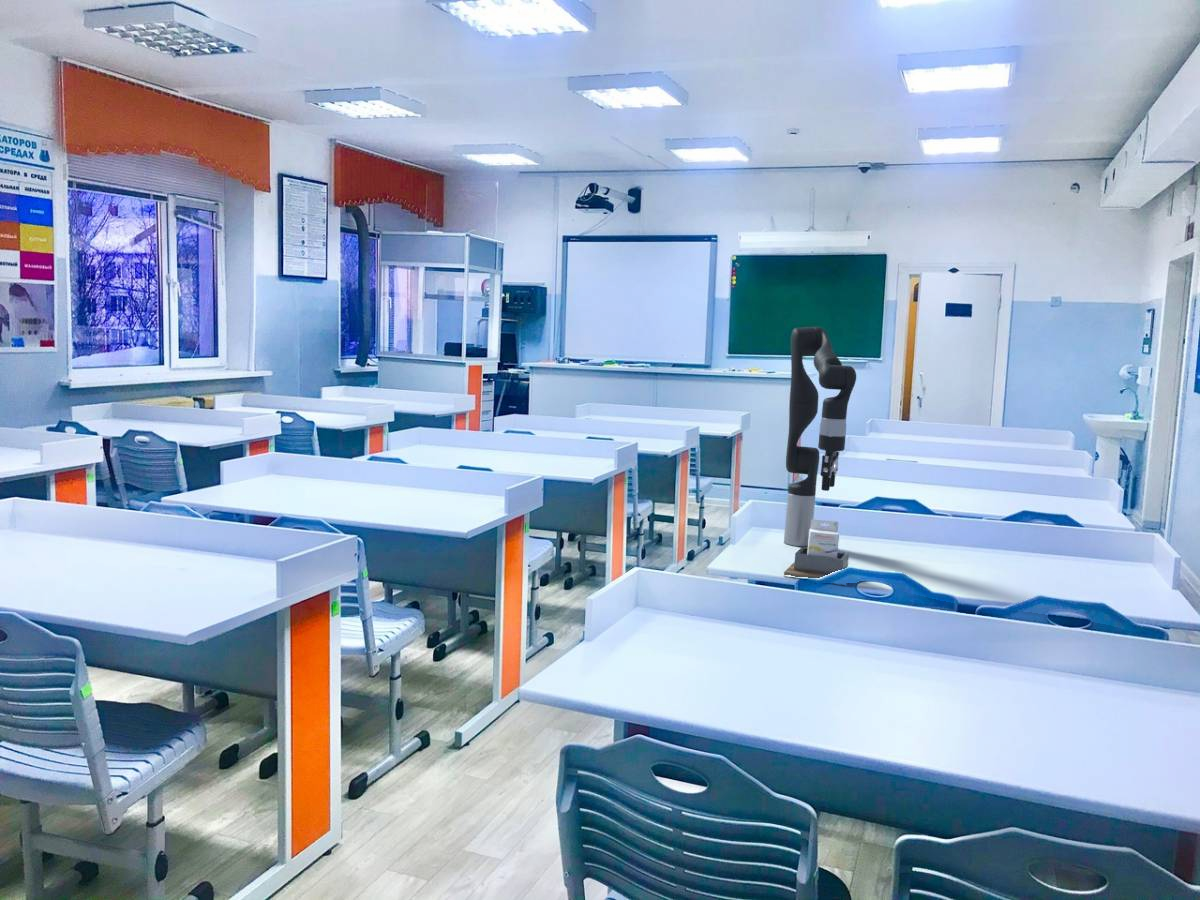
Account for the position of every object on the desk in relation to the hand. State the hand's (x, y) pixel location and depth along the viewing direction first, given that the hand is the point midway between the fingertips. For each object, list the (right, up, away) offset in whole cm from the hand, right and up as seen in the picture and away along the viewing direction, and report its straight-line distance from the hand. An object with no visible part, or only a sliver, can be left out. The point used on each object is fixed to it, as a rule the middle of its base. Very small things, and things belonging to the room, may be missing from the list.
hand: (827, 488), depth 286 cm
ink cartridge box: (-1, -25, +3) cm, 25 cm away
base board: (-1, -26, +3) cm, 26 cm away
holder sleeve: (-1, -24, +3) cm, 25 cm away
